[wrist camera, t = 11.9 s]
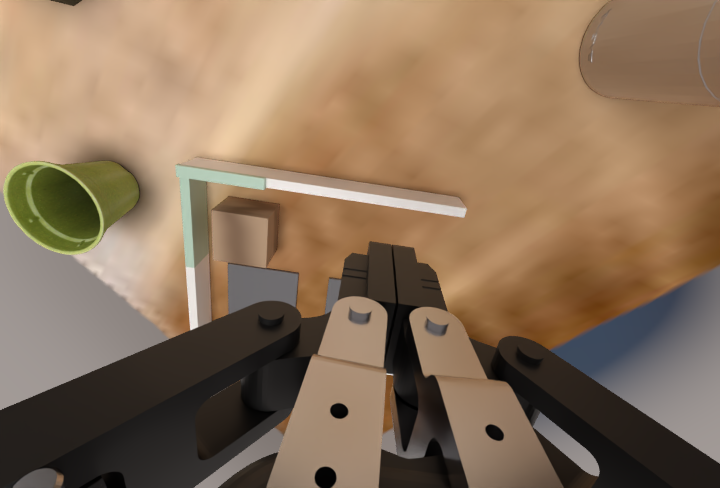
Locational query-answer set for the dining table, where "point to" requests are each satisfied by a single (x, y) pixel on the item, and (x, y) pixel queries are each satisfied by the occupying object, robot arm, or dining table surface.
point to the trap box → (263, 282)
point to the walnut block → (245, 231)
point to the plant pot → (68, 202)
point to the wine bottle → (68, 1)
